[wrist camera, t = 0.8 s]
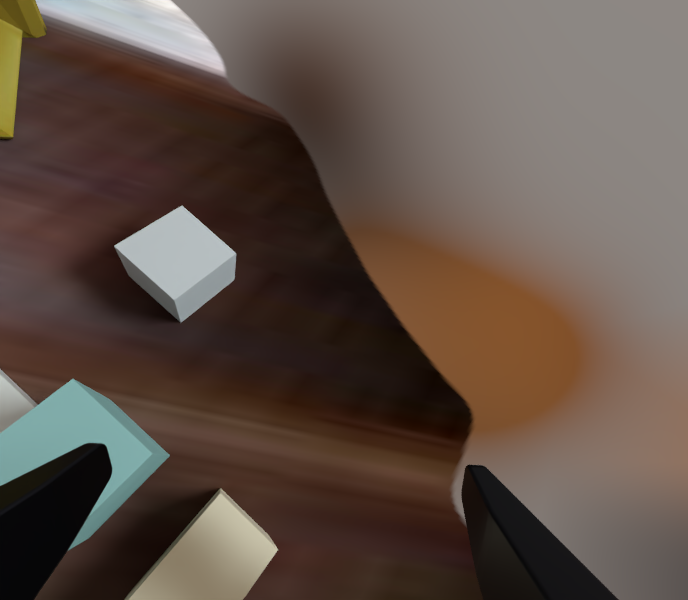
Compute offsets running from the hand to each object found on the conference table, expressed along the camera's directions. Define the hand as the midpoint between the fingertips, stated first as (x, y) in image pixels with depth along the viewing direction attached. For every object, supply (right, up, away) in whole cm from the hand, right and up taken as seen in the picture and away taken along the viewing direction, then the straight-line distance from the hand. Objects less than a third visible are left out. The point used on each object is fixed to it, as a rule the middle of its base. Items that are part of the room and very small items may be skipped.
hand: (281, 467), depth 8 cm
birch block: (-6, -10, +11) cm, 16 cm away
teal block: (-12, -5, +11) cm, 17 cm away
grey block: (-10, +6, +17) cm, 20 cm away
